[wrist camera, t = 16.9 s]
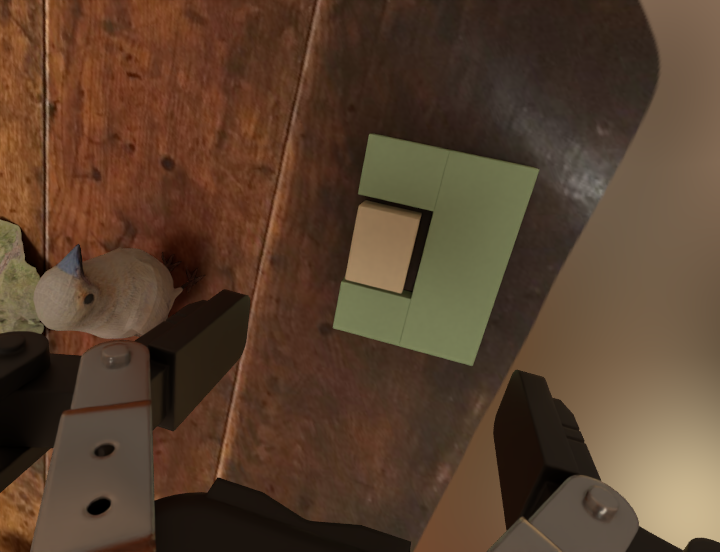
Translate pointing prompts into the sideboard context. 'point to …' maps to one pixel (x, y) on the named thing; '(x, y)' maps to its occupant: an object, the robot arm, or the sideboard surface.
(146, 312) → the bird
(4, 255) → the mossy green rock
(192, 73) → the sideboard surface
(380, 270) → the cream pad
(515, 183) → the green c-shaped block
